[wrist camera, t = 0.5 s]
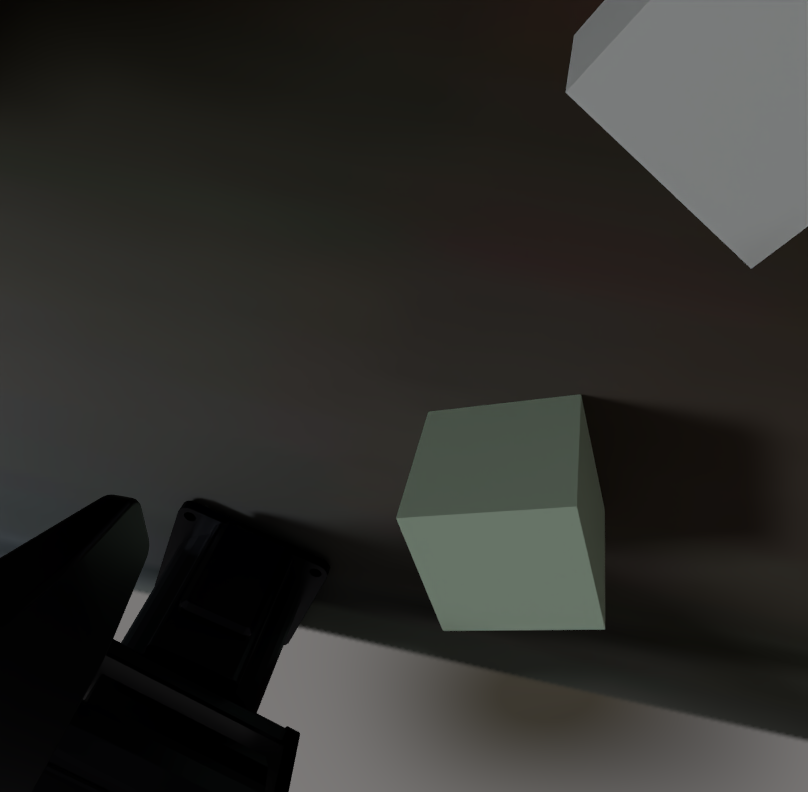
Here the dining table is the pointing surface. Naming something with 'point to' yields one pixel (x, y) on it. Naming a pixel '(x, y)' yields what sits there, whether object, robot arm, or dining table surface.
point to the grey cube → (707, 107)
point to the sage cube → (508, 517)
